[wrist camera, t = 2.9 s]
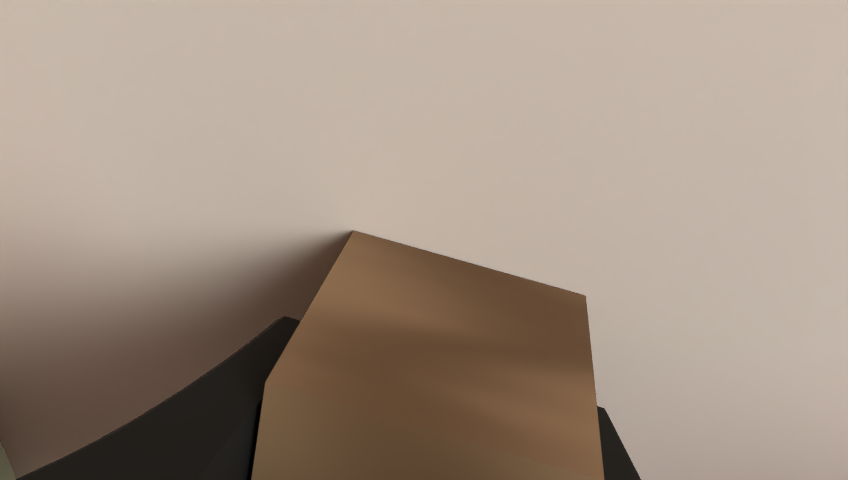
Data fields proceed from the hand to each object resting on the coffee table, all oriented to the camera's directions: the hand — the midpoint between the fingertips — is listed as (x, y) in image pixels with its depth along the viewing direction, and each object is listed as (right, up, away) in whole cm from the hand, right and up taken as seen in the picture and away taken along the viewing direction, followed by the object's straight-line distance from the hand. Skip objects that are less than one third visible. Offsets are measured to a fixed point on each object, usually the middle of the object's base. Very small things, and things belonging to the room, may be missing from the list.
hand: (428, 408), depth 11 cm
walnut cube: (0, +1, +1) cm, 1 cm away
